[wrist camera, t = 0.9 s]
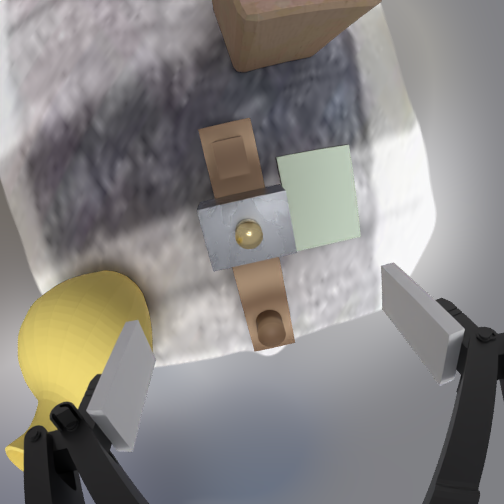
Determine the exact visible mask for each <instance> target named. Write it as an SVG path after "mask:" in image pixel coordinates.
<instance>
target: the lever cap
mask: <svg viewBox="0 0 504 504" xmlns="http://www.w3.org/2000/svg"><path fill="white" fill-rule="evenodd" d="M197 213H198V217H199V221H200V225H201V228H202V232H203V236H204V239H205V243H206V247H207V250H208V254H209V257H210V261H211V265H212V268H213V271H218V270H222V269H227V268H231V267H236V266H240V265H245V264H249V263H254V262H258V261H263V260H267V259H272V258H276V257H281V256H285V255H290V254H294V253H297V249H296V243H295V238H294V232H293V227H292V221H291V216H290V210H289V205H288V199H287V194H286V190H285V189H284V188H283V187H282V186H281V185H280V184H279V185H274V186H269V187H264V188H260V189H255V190H251V191H246V192H242V193H237V194H233V195H228V196H224V197H220V198H216V199H211V200H207V201H203V202H200V204H199V206H198V209H197Z"/></svg>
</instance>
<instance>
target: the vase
mask: <svg viewBox="0 0 504 504" xmlns="http://www.w3.org/2000/svg"><path fill="white" fill-rule="evenodd" d="M134 320H138V321H139V323H140V325H141V327H142V330H143V332H144V334H145V337H146V339H147V341H148V343H149V345H150V348H151V350H152V352H153V345H152V327H151V321H150V315H149V311H148V307H147V304H146V301H145V298H144V295H143V293H142V292H141V290H140V289H139V287H138V286H137V285H136V283H134V282H133V281H132V280H131V279H129V278H128V277H127V276H125V275H123V274H120V273H118V272H115V271H107V270H104V271H99V272H94V273H89V274H84V275H80V276H77V277H74V278H71V279H68V280H66V281H64V282H62V283H60V284H58V285H56V286H55V287H53V288H52V289H51V290H49V291H48V292H46V293H45V294H44V295H42V296H41V297H40V298H39V299H37V300H36V301H35V302H34V303H33V305H32V306H31V307H30V309H29V311H28V313H27V315H26V317H25V319H24V321H23V323H22V325H21V328H20V331H19V335H18V360H19V364H20V368H21V371H22V374H23V376H24V379H25V381H26V383H27V385H28V387H29V388H30V390H31V391H32V393H33V394H34V396H35V397H36V398H37V399H38V407H37V411H36V413H35V416H34V419H33V421H32V423H31V425H30V427H29V429H30V428H32V427H34V426H37V425H41V426H43V427H44V428H45V429H46V430H47V431H48V432H51V431H55V430H58V429H57V428H56V427H55V425H54V424H53V423H52V422H51V420H50V416H49V415H50V413H51V411H52V409H53V408H54V407H55V406H56V405H58V404H60V403H62V402H72V403H73V404H74V405H75V407H76V408H77V409H78V408H79V405H80V403H81V401H82V399H83V396H84V394H85V392H86V390H87V387H88V385H89V383H90V381H91V380H92V379H93V378H94V377H95V376H96V375H97V374H102V372H103V370H104V368H105V366H106V363H107V361H108V359H109V357H110V355H111V352H112V350H113V348H114V346H115V344H116V342H117V339H118V337H119V335H120V333H121V331H122V329H123V327H124V325H125V323H126V322H129V321H134ZM29 429H28V430H29ZM28 430H27V431H28ZM27 431H26V432H25V433H24V434H23V435H22V436H20V437H19V438H18V439H16V440H15V441H13V442H12V443H11V444H9V445H8V446H7V447H6V449H5V450H6V454H7V456H8V457H9V459H10V460H11V461H12V462H13V463H14V464H15V465H16V466H17V467H18V468H19V469H21V470H22V471H23V472H24V437H25V434H26V433H27Z"/></svg>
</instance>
